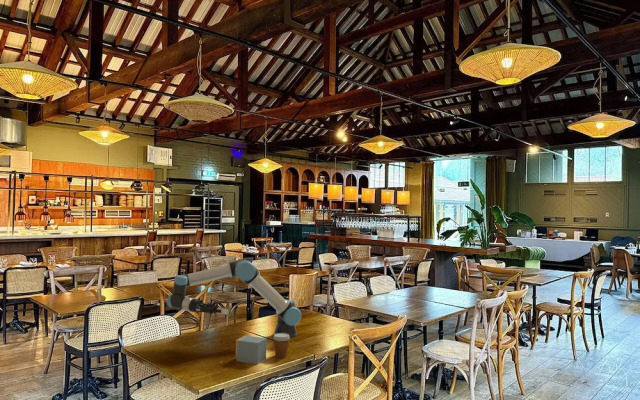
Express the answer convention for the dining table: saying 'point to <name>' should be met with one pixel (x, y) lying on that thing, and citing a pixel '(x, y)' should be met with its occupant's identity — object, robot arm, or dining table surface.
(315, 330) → the dining table surface
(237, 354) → the block
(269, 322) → the dining table surface
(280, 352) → the disposable coffee cup
